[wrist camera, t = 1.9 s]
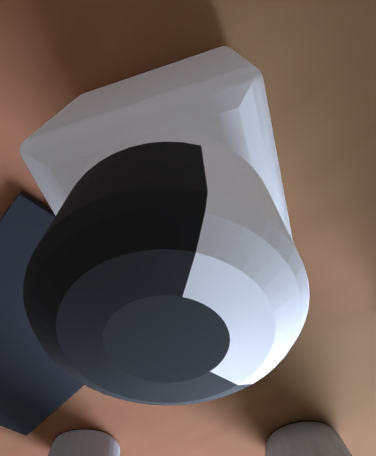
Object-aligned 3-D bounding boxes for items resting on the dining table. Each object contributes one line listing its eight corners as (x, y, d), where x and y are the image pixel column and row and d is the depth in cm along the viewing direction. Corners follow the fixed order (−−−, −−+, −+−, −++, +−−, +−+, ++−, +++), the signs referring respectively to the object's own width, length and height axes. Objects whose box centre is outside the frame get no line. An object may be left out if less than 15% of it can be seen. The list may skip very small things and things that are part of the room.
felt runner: (183, 294, 22) (182, 298, 22) (28, 430, 30) (26, 435, 29) (21, 190, 18) (18, 193, 18) (-109, 377, 26) (-113, 382, 26)
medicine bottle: (134, 224, 20) (81, 460, 9) (75, 95, 16) (-117, 245, 6) (261, 189, 18) (361, 410, 8) (229, 42, 15) (334, 109, 5)
